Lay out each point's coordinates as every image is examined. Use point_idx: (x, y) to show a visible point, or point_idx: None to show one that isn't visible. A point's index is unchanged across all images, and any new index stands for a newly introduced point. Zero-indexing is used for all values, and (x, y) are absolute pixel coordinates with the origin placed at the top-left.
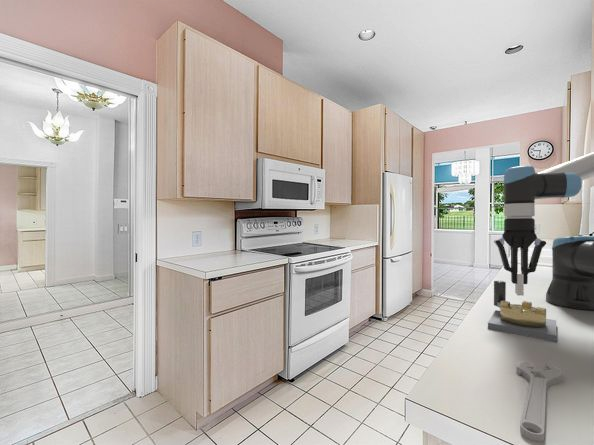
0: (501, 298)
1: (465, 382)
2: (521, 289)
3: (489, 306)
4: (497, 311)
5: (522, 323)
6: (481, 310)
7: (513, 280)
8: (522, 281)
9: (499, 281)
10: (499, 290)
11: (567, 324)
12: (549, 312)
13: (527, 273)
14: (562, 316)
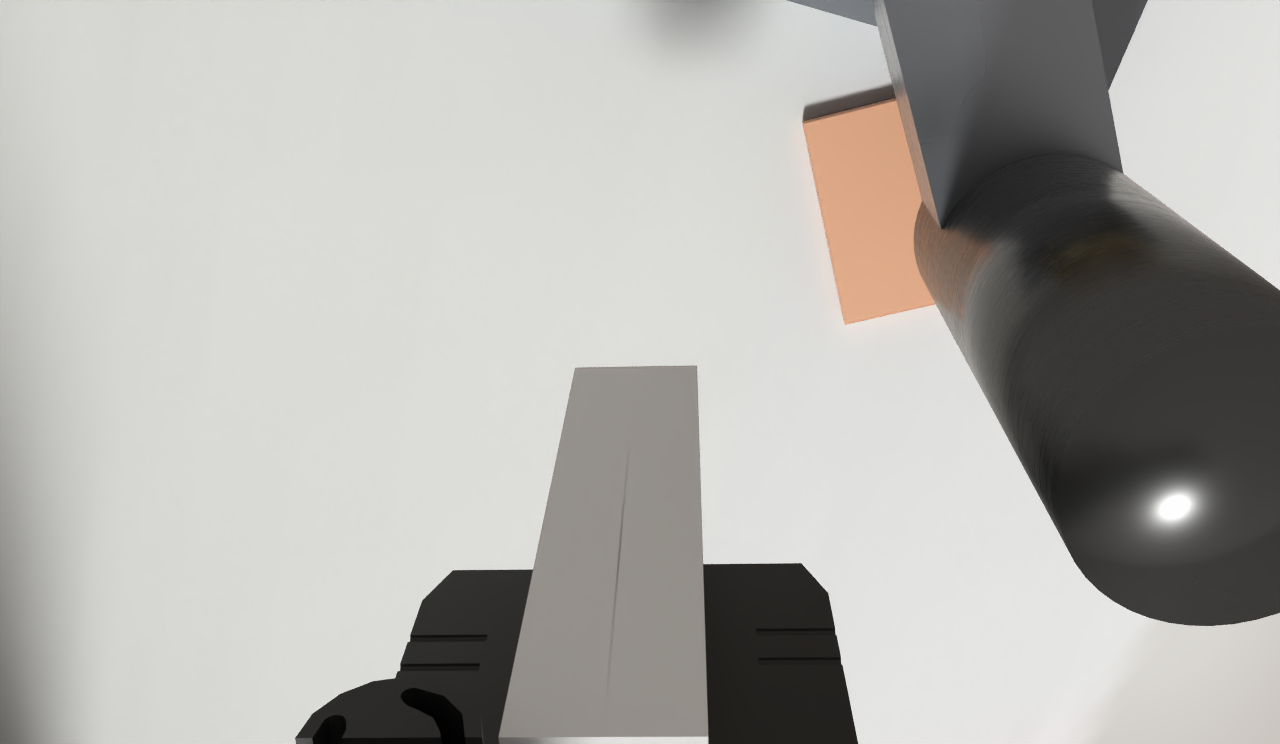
0: (1068, 182)
1: None
2: (609, 434)
3: (1013, 586)
4: (1095, 11)
5: None
6: None
7: (804, 621)
8: (564, 565)
9: (1224, 526)
10: (1189, 245)
11: (36, 4)
12: (204, 581)
13: (357, 713)
14: (62, 440)
